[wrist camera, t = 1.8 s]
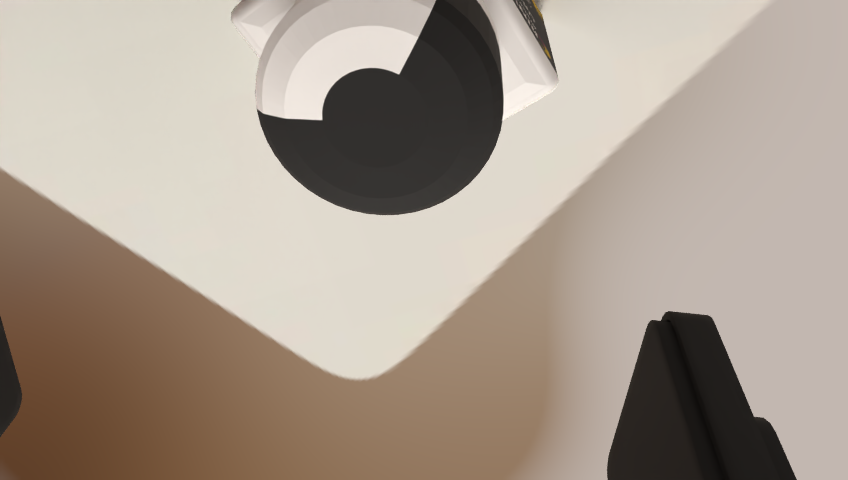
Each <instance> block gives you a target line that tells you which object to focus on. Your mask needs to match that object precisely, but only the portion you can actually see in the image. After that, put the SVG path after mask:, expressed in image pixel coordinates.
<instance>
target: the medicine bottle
mask: <svg viewBox="0 0 848 480" xmlns="http://www.w3.org/2000/svg"><path fill="white" fill-rule="evenodd" d="M231 21H232V23H233V26H234V27H235V28H236V29H237V31H238V32H239V33H240V34H241V36H242V37H243V38H244V40H245V41H246V42H247V43H248V45H249V46H250V47H251V48H252V50H253V51H254V52H255V53H256V55H257V56H258V57H259V58H260V60H259V65H258V70H257V75H256V89H255V94H256V105H257V112H258V116H259V120H260V124H261V127H262V129H263V132H264V135H265V137H266V140H267V142H268V143H269V145H270V147H271V149H272V151H273V152H274V154H275V156H276V157H277V158H278V160H279V161H280V162H281V164H282V165H283V166H284V168H285V169H286V170H287V171H288V172H289V173H290V174H291V175H292V176H293V177H294V178H295V179H296V180H297V181H298V182H299V183H301V184H302V185H303V186H304V187H306V188H307V189H308V190H310V191H311V192H313V193H314V194H316V195H317V196H319V197H321V198H322V199H324V200H326V201H329V202H331V203H333V204H335V205H337V206H340V207H343V208H346V209H349V210H352V211H357V212H362V213H366V214H376V215H399V214H406V213H412V212H417V211H420V210H423V209H427V208H430V207H432V206H435V205H437V204H439V203H442V202H444V201H445V200H447V199H449V198H450V197H452V196H454V195H455V194H457V193H458V192H459V191H461V190H462V189H463V188H464V187H466V186H467V185H468V184H469V183H470V182H471V181H472V180H473V179H474V178H475V177H476V176H477V175H478V174H479V173H480V171H481V170H482V168H483V167H484V165H485V164H486V163H487V161H488V160H489V158H490V156H491V154H492V152H493V150H494V148H495V146H496V143H497V140H498V137H499V134H500V131H501V125H502V121H503V120H505V119H507V118H508V117H510V116H512V115H513V114H515V113H517V112H519V111H520V110H522V109H524V108H525V107H527V106H529V105H531V104H532V103H534V102H536V101H537V100H539V99H541V98H543V97H544V96H546V95H548V94H549V93H551V92H553V91H554V90H555V89H556V87H557V85H558V82H559V79H558V75H557V71H556V67H555V63H554V60H553V56H552V52H551V48H550V44H549V40H548V36H547V32H546V28H545V25H544V21H543V17H542V14H541V13H540V11H539V9H538V7H537V6H536V4H535V2H534V1H533V0H242V1H241V2H240V3H239V4H238V5H237V6H236V7H235V8H234V9H233V11H232V12H231Z"/></svg>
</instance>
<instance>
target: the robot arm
mask: <svg viewBox="0 0 848 480" xmlns="http://www.w3.org/2000/svg"><path fill="white" fill-rule="evenodd" d="M21 400H22V393H21V387H20V383H19V380H18V377H17V373H16V370H15V366H14V363H13V359H12V356H11V352H10V349H9V345H8V342H7V338H6V335H5V331H4V328H3V324H2V321H1V317H0V437H1V435H2V434H3V432H4V431H5V430H6V429H7V427H8V426H9V425H10V423H11V422H12V421H13V419H14V418H15V416H16V415H17V413H18V411H19V408H20V405H21ZM607 477H608V480H797V479H796V477H795V475H794V473H793V470H792V468H791V466H790V464H789V461H788V459H787V457H786V454H785V452H784V450H783V448H782V445H781V443H780V441H779V439H778V437H777V434H776V432H775V430H774V429H773V427H772V425H771V424H770V423H769V422H768V421H767V420H766V419H764V418H760V417H754V416H753V414H752V411H751V409H750V406H749V404H748V402H747V399H746V397H745V394H744V392H743V390H742V387H741V385H740V383H739V380H738V378H737V375H736V373H735V371H734V368H733V366H732V364H731V361H730V359H729V356H728V354H727V351H726V349H725V347H724V345H723V342H722V340H721V337H720V335H719V332H718V330H717V328H716V325H715V323H714V321H713V319H712V318H711V317H710V316H708V315H700V314H690V313H681V312H671V311H668V312H666V313H665V314H664V316H663V317H662V320H661V321H656V320H651V321H650V322H649V324H648V326H647V328H646V332H645V335H644V339H643V342H642V345H641V348H640V352H639V355H638V359H637V362H636V365H635V369H634V372H633V376H632V379H631V382H630V385H629V389H628V392H627V396H626V399H625V403H624V406H623V409H622V412H621V416H620V419H619V423H618V426H617V429H616V433H615V436H614V439H613V443H612V446H611V449H610V453H609V458H608V466H607Z"/></svg>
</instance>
